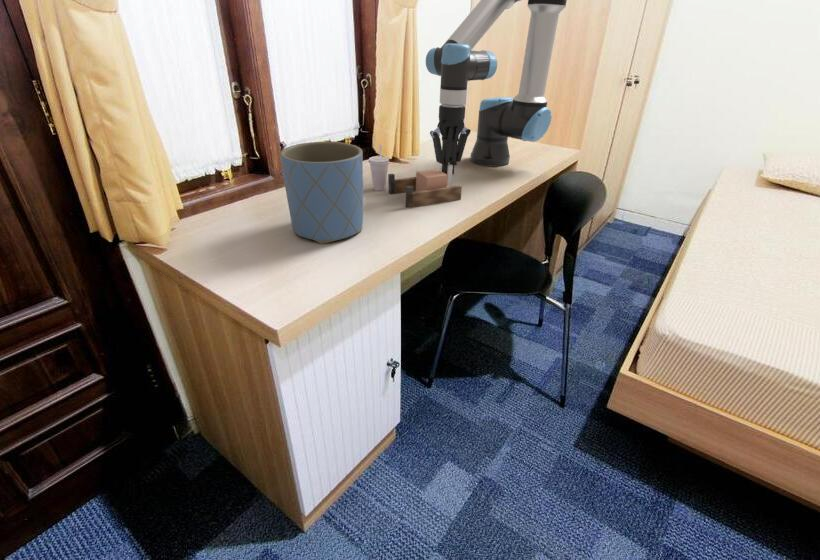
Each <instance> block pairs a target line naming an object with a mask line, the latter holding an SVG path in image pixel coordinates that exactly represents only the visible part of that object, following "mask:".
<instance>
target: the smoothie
mask: <svg viewBox="0 0 820 560" xmlns="http://www.w3.org/2000/svg"><path fill="white" fill-rule="evenodd" d="M368 163H369V166H370V172H371V178H372V179H371V180H372V187H373V190H374V191H379V192H383V191H385V190H386V185H387V177H388V168H389V167H388V166H389V163H390V158H389V157H387V156H383V155H382V144H379V155H376V156H374V155H373V156H371V157H369V158H368Z"/></svg>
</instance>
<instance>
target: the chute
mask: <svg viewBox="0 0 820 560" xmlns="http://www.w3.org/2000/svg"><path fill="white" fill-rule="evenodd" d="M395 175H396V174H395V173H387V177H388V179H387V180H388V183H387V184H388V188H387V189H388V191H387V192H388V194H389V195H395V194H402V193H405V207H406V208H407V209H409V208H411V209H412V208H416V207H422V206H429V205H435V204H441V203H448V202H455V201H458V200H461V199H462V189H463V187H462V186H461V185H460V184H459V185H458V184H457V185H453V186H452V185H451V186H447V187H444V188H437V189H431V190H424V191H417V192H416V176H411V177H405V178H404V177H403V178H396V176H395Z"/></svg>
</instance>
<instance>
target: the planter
mask: <svg viewBox="0 0 820 560" xmlns="http://www.w3.org/2000/svg"><path fill="white" fill-rule="evenodd" d="M363 153H364V151H363V149H362V148H361V147H360V146H357V145H355V144H351V143H347V142H340V141H339V142H338V141H311V142H304V143H299V144H298V143H297V144H294V145H293V144H292V145H290V146H287V147H285V148H283V149H281V151H280V152H279V158H280V164H281V170H282V176H283V181H284V189H285V194H286V200H287V204H288V211H289V216H290V222H291V227H292V230H293V232H294V233H295V235H298V236H300V237H301V238H305V239H309V240H313V241H315V242H317V243H318V244H320V245H324V244H327V243H331V242H335V241H338V240H339V241H340V240H344V239H347V238H349V237H351V236H354V235H356V234H358V233H360V232H361V231H362V230H363V219H364V212H363V211H364V209H363V207H364V206H363V204H364V203H363V202H364V201H363V198H364V197H363V195H364V194H363V193H364V192H363V191H364V189H363V188H364V185H363V184H364V175H363V174H364V172H363V170H364V169H363V166H364V165H363V164H364V163H363V160H364V159H363V157H364V156H363Z"/></svg>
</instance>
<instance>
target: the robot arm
mask: <svg viewBox="0 0 820 560" xmlns="http://www.w3.org/2000/svg"><path fill="white" fill-rule="evenodd" d="M520 1H521V0H480V1H479V2H478V3H477V4H476V5H475V7H474V8H473V9H472V10H471V11H470V13H469V14H468V15H467V16H466V17H465V19H464V20H463V21H462V22H461V23H460V24H459V25H458V27H457V28H456V29H455V30H454V31H453V33H452V34H451V35H450V36H449V38H447V40H445V43H444V44H443V45H442V46H441V47H433V48H431V49H430V50H428V52H427V53H426V57H425V66H426V70H427V71H428V72H429V73H430V74H432V75H435V76H439V77H440V87H439V88H440V89H439V104H440V105H439V107H438V124H437V127H436V128H435V129H434V130H430V132H429V135H430V136H431V138H432V142H433V143H432V144H433V149H434V155H435V160H436V162H437V163H438V164H440V165H441V172H443V173H445V174H447V175H448V177H447V187H451V186H452V181H453V179H452V178H453V176H454V174H455V167H456V166H457V165H458V163H460V162H461V161H462V158H463V154H464V151H465V146H466V144H467V140H468V137H469V135H470V134H471V131H472V130H471V129H469V128H467V127H466V126H465V123H464V119H465V117H466V115H465V114H466V106H465V105H466V103H467V94H468V93H467V91H468V83H469V81H471V82H472V81H484V80H489V79H491V78H492V77H493V76H494V75H495V73H496V72H497V68H498V59H497V56H496V55H495V54H494V53H493V52H492V51H489V50H473V49H474V48H475V46H476V45H477V44H478V43H479V41H480V40H481V39H482V38H483V37H484V35H485V34H486V33H487V32H488V31H489V30H490V28H491V27H492V26H493V25H494V24H495V22H496V21H497V20H498V19H499V18H500V17H501V15H502V13H504V11H506V10H508V9H511V8H512V7H513V5H514V4H515V3H517V2H520ZM567 1H568V0H527V7H528V9H529V10H530V18H529V25H528V31H527V37H526V43H525V49H524V57H523V61H522V62H523V63H522V69H521V76H520V82H519V88H518V93H517V94H516V95H515V96H514V97H511V96H510V97H509V96H502V97H501V96H499V97H498V96H497V97H488V98H484V99H482V100H481V101H480V104H479V110H478V121H477V132H476V140H475V144H474V145H473V148H472V150H471V153H470V159H469V160H470V162H472V163H474V164H476V165H480V166H486V167H501V166H506V165H508V164H509V163H510V157H511V156H510V155H511V154H510V150H509V143H508V139H509V138H512V139H517V140H520V141H523V142H530V143H531V142H532V143H534V142H538V141H539V140H541V139H542V138H543V137H544V136H545V135H546V133H547V132H548V130H549V127H550V125H551V121H552V117H553V116H552V111H551V109H550V108H549V107H547V106H548V99H547V98H546V97H545V93H546V87H547V81H548V76H549V71H550V65H551V60H552V54H553V49H554V43H555V39H556V38H555V37H556V32H557V28H558V23H559V16H560V13H561V12H562V11H563V10H564V9H566V5H567ZM441 141H442V142H441Z"/></svg>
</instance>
